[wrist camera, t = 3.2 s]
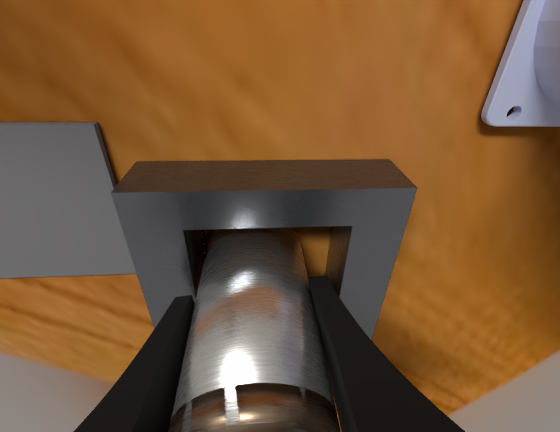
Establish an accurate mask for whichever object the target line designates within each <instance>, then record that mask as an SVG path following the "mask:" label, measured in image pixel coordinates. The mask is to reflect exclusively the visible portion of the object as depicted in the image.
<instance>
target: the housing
mask: <svg viewBox="0 0 560 432" xmlns="http://www.w3.org/2000/svg"><path fill="white" fill-rule="evenodd" d="M416 191H417V187H416V186H415V185H414V184H413V183H412V182H411V181H410V180H409V179H408V178H407V177H406V176H405V175H404V174H403V173H402V172H401V171H400V170H399V169H398V168H397V167H396V166H395V165H394V164H393V163H392V162H391V161H390V160H389V159H383V160H266V161H150V162H136V163H135V164H134V165H133V166H132V168H131V169H130V170H129V171H128V172H127V174H126V175H125V176H124V177H123V178H122V180H121V181H120V182H119V183H118V184H117V186H116V187H115V188H114V189H113V190H112V192H111V196H112V199H113V202H114V205H115V208H116V212H117V215H118V218H119V221H120V224H121V227H122V230H123V233H124V236H125V239H126V242H127V245H128V248H129V252H130V255H131V258H132V261H133V264H134V267H135V270H136V273H137V276H138V279H139V282H140V285H141V289H142V292H143V295H144V298H145V301H146V304H147V307H148V310H149V313H150V316H151V319H152V322H153V325H154V329H155V327H156V326H157V324H158V323H159V321H160V320H161V318H162V317H163V315H164V313H165V312H166V310H167V309H168V307H169V306H170V304H171V303H172V301H173V300H174V298H175V297H179V296H186V295H192V297H193V300H194V302H196V297H197V292H198V287H199V283H200V278H201V273H202V268H203V263H204V253H203V246H202V239H201V233H200V230H206V229H246V228H286V227H326V226H332V229H331V237H330V244H329V251H328V258H327V265H326V272H325V275H326V276H327V277H328V278H329V280H330V282H331V284H332V286H333V287H334V289H335V291H336V292H337V294H338V296H339V297H340V299H341V300H342V302H343V303H344V305H345V306H346V308H347V309H348V311H349V312H350V313H351V315H352V316H353V318H354V319H355V320H356V322H357V323H358V324H359V326H360V327H361V328H362V330H363V331H364V332H365V333H366V335H367V336H368V337H369V338H370V339H372V336H373V332H374V329H375V326H376V323H377V319H378V316H379V313H380V309H381V306H382V303H383V300H384V296H385V293H386V290H387V286H388V283H389V280H390V277H391V273H392V270H393V267H394V263H395V260H396V257H397V254H398V250H399V247H400V244H401V240H402V237H403V234H404V230H405V227H406V224H407V221H408V217H409V214H410V211H411V207H412V204H413V201H414V198H415V194H416Z"/></svg>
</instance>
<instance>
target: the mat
mask: <svg viewBox="0 0 560 432" xmlns="http://www.w3.org/2000/svg"><path fill="white" fill-rule="evenodd" d="M116 186H117V185H116V182H115V178H114V175H113V172H112V169H111V165H110V162H109V159H108V156H107V152H106V149H105V146H104V143H103V139H102V136H101V133H100V130H99V126H98V123H97V122H0V278H24V277H53V276H81V275H110V274H137V273H136V270H135V267H134V264H133V261H132V258H131V255H130V252H129V248H128V245H127V242H126V239H125V236H124V233H123V230H122V227H121V224H120V221H119V218H118V215H117V212H116V208H115V205H114V202H113V199H112V196H111V192H112V190H113V189H114V188H115V187H116Z"/></svg>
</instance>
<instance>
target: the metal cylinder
mask: <svg viewBox="0 0 560 432" xmlns="http://www.w3.org/2000/svg"><path fill="white" fill-rule="evenodd" d="M169 432H340V427H339V423H338V418H337V413H336V409H335V404H334V399H333V394H332V390H331V385H330V380H329V375H328V371H327V366H326V361H325V356H324V352H323V347H322V342H321V337H320V333H319V328H318V323H317V318H316V314H315V310H314V305H313V300H312V296H311V291H310V285H309V280H308V276H307V271H306V266H305V261H304V257H303V252H302V247H301V243H300V240H299V237H298V235H297V233H296V232H295V231H294V229H293V228H292V227H286V228H246V229H215V230H214V232H213V233H212V234H211V236H210V238H209V241H208V244H207V249H206V254H205V258H204V263H203V268H202V273H201V278H200V283H199V287H198V292H197V297H196V302H195V307H194V311H193V316H192V321H191V326H190V331H189V335H188V340H187V345H186V350H185V355H184V360H183V364H182V369H181V374H180V379H179V384H178V388H177V393H176V398H175V403H174V408H173V412H172V417H171V422H170V427H169Z"/></svg>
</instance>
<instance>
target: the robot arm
mask: <svg viewBox="0 0 560 432" xmlns="http://www.w3.org/2000/svg"><path fill="white" fill-rule="evenodd" d="M512 107H514V109H513V112H512V113H511V114H510V115H509V116H508V117H507V113H508V111H509V110H510V109H511V108H512ZM481 118H482V121H483V122H484V123H486V124H488V125H490V126H494V127H560V0H524V1H523V3H522V6H521V9H520V11H519V14H518V17H517V19H516V22H515V25H514V27H513V30H512V32H511V35H510V38H509V40H508V43H507V46H506V48H505V51H504V54H503V56H502V59H501V62H500V64H499V67H498V70H497V72H496V75H495V78H494V80H493V83H492V86H491V88H490V91H489V94H488V96H487V99H486V102H485V104H484V107H483V110H482V114H481ZM309 281H310V291H311V296H312V300H313V305H314V310H315V314H316V318H317V323H318V328H319V333H320V337H321V342H322V347H323V352H324V356H325V361H326V366H327V371H328V375H329V380H330V385H331V388H332V392H333V395H334V399H335V403H336V407H337V411H338V415H339V420H340V425H341V430H342V432H465V431H464V430H463V429H461V428H460V427H459V426H458V425H457V424H455V423H454V422H453V421H452V420H451V419H450V418H449V417H447V416H446V415H445V414H444V413H443V412H442V411H441V410H439V409H438V408H437V407H436V406H435V405H434V404H433V403H432V402H431V401H430V400H429V399H428V398H426V397H425V396H424V395H423V394H422V393H421V392H420V391H419V390H418V389H417V388H416V387H415V386H414V385H412V384H411V383H410V382H409V381H408V380H407V379H406V378H405V377H404V376H403V375H402V374H401V373H400V372H399V371H398V370H397V368H396V367H395V366H394V365H393V364H392V363H391V362H390V361H389V360H388V359H387V358H386V357H385V356H384V354H383V353H382V352H381V351H380V350H379V349H378V348H377V347H376V345H375V344H374V343H373V342H372V341H371V339H370V338H369V337H368V336H367V335H366V333H365V332H364V331H363V330H362V328H361V327H360V326H359V324H358V323H357V322H356V320H355V319H354V318H353V316H352V315H351V313H350V312H349V311H348V309H347V308H346V306H345V305H344V303H343V302H342V300H341V299H340V297H339V296H338V294H337V292H336V291H335V289H334V287H333V286H332V284H331V282H330V280H329V278H328V277H327V276H326V275H324V276H317V277H310V278H309ZM194 307H195V302H194V300H193V297H192V295H186V296H179V297H175V298H174V300H173V301H172V303H171V304H170V306H169V307H168V309H167V310H166V312H165V313H164V315H163V317H162V318H161V320H160V321H159V323H158V324H157V326H156V327H155V329H154V330H153V332H152V333H151V335H150V336H149V338H148V339H147V341H146V342H145V344H144V345H143V347H142V348H141V350H140V351H139V352H138V354H137V355H136V357H135V358H134V359H133V361H132V362H131V363H130V365H129V366H128V367H127V369H126V370H125V371H124V373H123V374H122V375H121V377H120V378H119V379H118V381H117V382H116V383H115V384H114V386H113V387H112V388H111V390H110V391H109V392H108V393H107V395H106V396H105V397H104V398H103V399H102V400H101V402H100V403H99V404H98V405H97V406H96V407H95V409H94V410H93V411H92V412H91V413H90V414H89V415H88V416H87V418H86V419H85V420H84V421H83V422H82V423H81V424H80V425H79V426H78V428H77V429H76V430H75V431H74V432H169V427H170V422H171V417H172V412H173V408H174V403H175V398H176V393H177V388H178V384H179V379H180V374H181V369H182V364H183V360H184V355H185V350H186V345H187V340H188V335H189V331H190V326H191V321H192V316H193V311H194Z"/></svg>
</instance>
